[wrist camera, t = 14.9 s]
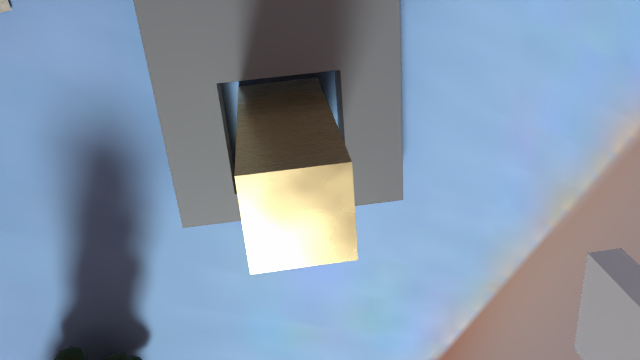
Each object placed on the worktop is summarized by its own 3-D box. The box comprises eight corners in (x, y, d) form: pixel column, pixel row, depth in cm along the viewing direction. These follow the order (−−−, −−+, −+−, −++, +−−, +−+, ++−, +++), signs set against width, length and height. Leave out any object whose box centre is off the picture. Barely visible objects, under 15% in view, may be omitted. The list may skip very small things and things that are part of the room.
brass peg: (317, 77, 32) (351, 161, 22) (323, 149, 34) (358, 260, 24) (238, 86, 32) (234, 176, 21) (249, 158, 34) (250, 274, 23)
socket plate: (384, -168, 27) (396, -175, 25) (393, 181, 36) (403, 199, 34) (112, -146, 26) (100, -151, 24) (186, 207, 35) (182, 227, 33)
